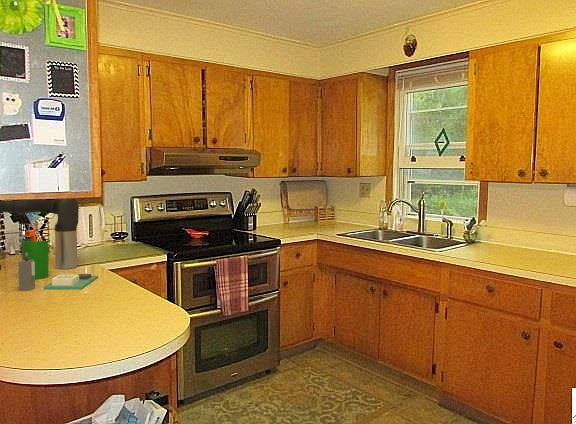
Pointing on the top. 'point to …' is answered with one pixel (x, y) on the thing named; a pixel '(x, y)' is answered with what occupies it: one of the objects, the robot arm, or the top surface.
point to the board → (71, 281)
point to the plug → (26, 274)
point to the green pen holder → (36, 254)
